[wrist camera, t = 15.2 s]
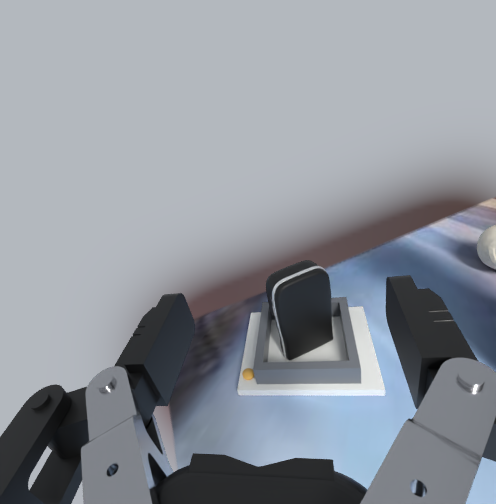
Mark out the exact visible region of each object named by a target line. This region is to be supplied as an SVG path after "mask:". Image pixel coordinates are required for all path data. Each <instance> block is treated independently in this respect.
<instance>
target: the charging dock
mask: <svg viewBox="0 0 496 504" xmlns="http://www.w3.org/2000/svg"><path fill="white" fill-rule="evenodd" d="M331 304H332V330H333V340H332V341H330V342H328V343H326V344H324V345H322V346H320V347H318V348H316V349H314V350H312V351H310V352H308V353H306V354H303V355H301V356H299V357H297V358H295V359H292V360H288V359H287V358H286V357H285V356H284V353H283V352H282V349H281V345H280V337H279V332H278V329H277V325H276V321H275V318H274V316H273V314H272V313H271V311H270V308H269V303H268V302H262V309H261V312H256V313H251V316H250V322H249V327H248V333H247V338H246V344H245V349H244V355H243V361H242V366H241V372H240V377H239V383H238V388H237V391H238V394H239V396H385V387H384V383H383V380H382V376H381V372H380V369H379V365H378V361H377V357H376V354H375V350H374V346H373V343H372V339H371V335H370V332H369V328H368V324H367V320H366V317H365V313H364V309H363V306H361V307H348V304H347V299H346V297H339V298H331Z"/></svg>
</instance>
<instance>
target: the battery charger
mask: <svg viewBox="0 0 496 504" xmlns="http://www.w3.org/2000/svg"><path fill="white" fill-rule="evenodd" d="M266 291H267V297H268V303H269V308H270V311H271V313H272V314H273V316H274V318H275V321H276V325H277V329H278V332H279V337H280V345H281V349H282V352H283V353H284V356H285V357H286V358H287V359H288V360H292V359H295V358H297V357H299V356H301V355H303V354H306V353H308V352H310V351H312V350H314V349H316V348H318V347H320V346H322V345H324V344H326V343H328V342H330V341H332V340H333V330H332V304H331V289H330V280H329V276H328V274H327V272H326V271H325V270H324V269H323V268H322V267H320V266H318V265H317V264H316V263H314V262H312V261H309V260H305V261H301V262H299V263H296V264H294V265H291V266H288V267H286V268H284V269H281V270H279V271H276V272H275V273H273V274H271V275H270V276H269V277H268V279H267V282H266Z"/></svg>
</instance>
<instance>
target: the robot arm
mask: <svg viewBox="0 0 496 504" xmlns="http://www.w3.org/2000/svg"><path fill="white" fill-rule="evenodd" d="M386 317H387V322H388V326H389V329H390V332H391V335H392V338H393V341H394V344H395V347H396V350H397V353H398V356H399V359H400V362H401V365H402V368H403V371H404V374H405V377H406V380H407V383H408V386H409V389H410V392H411V395H412V398H413V401H414V404H415V407H416V409H418V410H417V412H416V414H415V415H414V417H413V418H412V419H408V420H407V421H406V422H405V423H404V425H403V427H402V428H401V430H400V432H399V434H398V436H397V437H396V439H395V441H394V443H393V445H392V447H391V448H390V450H389V452H388V454H387V456H386V458H385V459H384V461H383V463H382V465H381V467H380V468H379V470H378V472H377V474H376V476H375V478H374V479H373V481H372V483H371V485H370V487H369V489H368V490H367V489H366V488H365V487H363V486H362V485H361V484H359V483H358V482H356V481H355V480H353V479H351V478H349V477H347V476H345V475H343V474H341V473H338V472H335V471H334V465H333V460H330V459H307V458H294V459H290V460H286V461H281V462H277V463H273V464H269V465H265V466H261V467H257V466H253V465H251V464H248V463H245V462H243V461H240V460H237V459H234V458H232V457H229V456H226V455H215V454H193V455H192V459H191V463H190V465H189V466H186V467H184V468H181V469H179V470H177V471H175V472H173V470H172V468H171V466H170V464H169V461H168V459H167V455H166V452H165V449H164V446H163V442H162V439H161V436H160V432H159V429H158V426H157V422H156V419H155V417H154V415H153V412H154V409H155V407H156V406H168V403H169V400H170V398H171V395H172V392H173V390H174V387H175V384H176V381H177V379H178V376H179V373H180V371H181V368H182V365H183V362H184V360H185V357H186V354H187V352H188V349H189V346H190V344H191V341H192V338H193V335H194V331H195V323H194V319H193V317H192V314H191V312H190V309H189V307H188V304H187V302H186V299H185V297H184V295H183V294H182V293H178V294H166V295H163V296H162V297H161V299H160V301H159V303H158V305H157V306H156V307H154V308H152V309H151V310H150V311H149V312H148V313H147V314H145V315H144V317H143V318H142V320H141V321H140V323H139V325H138V328H137V329H136V330H135V332H134V333H133V337H131V338H130V340H129V342H128V344H127V345H126V347H125V349H124V350H123V352H122V354H121V355H120V357H119V359H118V361H117V363H116V364H115V366H114V367H110V368H107V369H105V370H103V371H102V372H100V373H99V374H97V375H96V376H95V377H94V378H93V379H92V380H91V382H90V383H89V385H88V387H84V388H81V389H78V390H75V391H72V392H69V393H66V392H65V391H64V389H63V388H62V387H61V386H60V385H50V386H47V387H45V388H43V389H41V390H39V391H38V392H36V393H35V394H34V395H33V396H31V397H30V398H29V399H28V400H27V401H26V403H25V404H24V405H23V407H22V408H21V410H20V411H19V412H18V413H17V415H16V416H15V418H14V419H13V420H12V422H11V423H10V425H9V426H8V427H7V429H6V430H5V431H4V433H3V434H2V435H1V437H0V504H71V503H72V500H73V499H74V496H75V494H76V492H77V490H78V488H79V485H80V483H81V481H83V499H84V504H466V501H467V498H468V495H469V493H470V490H471V487H472V484H473V481H474V478H475V475H476V473H477V470H478V467H479V464H480V461H481V458H482V457H484V458H487V459H490V460H493V461H496V372H495V371H493V370H492V369H491V368H490V367H488V366H486V365H485V364H483V363H481V362H479V361H478V360H477V358H476V357H475V355H474V353H473V352H472V350H471V348H470V347H469V345H468V343H467V341H466V340H465V338H464V336H463V335H462V333H461V331H460V329H459V328H458V326H457V324H456V323H455V322H454V320H453V317H452V316H451V314H450V312H448V309H447V307H446V305H445V304H444V302H443V300H442V299H441V297H439V296H438V295H437V294H435V293H434V292H433V291H431V290H430V289H429V288H428V289H417V287H416V285H415V283H414V281H413V279H412V277H411V276H410V275H408V276H395V277H387V281H386ZM47 446H48V447H49V448H50V449H51V450H52V452H51V454H50V455H49V457H48V459H47V461H46V463H45V464H44V466H43V468H42V470H41V471H40V473H39V475H38V476H37V478H36V480H35V482H34V484H33V485H32V487H31V489H30V491H29V489H28V481H29V477H30V474H31V473H32V471H33V469H34V468H35V466H36V464H37V462H38V461H39V459H40V457H41V456H42V454H43V452H44V450H45V449H46V447H47Z"/></svg>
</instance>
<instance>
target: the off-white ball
mask: <svg viewBox="0 0 496 504" xmlns="http://www.w3.org/2000/svg"><path fill="white" fill-rule="evenodd" d="M477 253H478V255H479V258H480V259H481V261H482V262H483V263H484V264H486V265H487V266H489V267H491V268H493V269H496V225H495V226H492V227H490V228H488V229H487V230H485V231H484V232H483V233H482V234H481V235H480V237H479V240H478V243H477Z"/></svg>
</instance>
